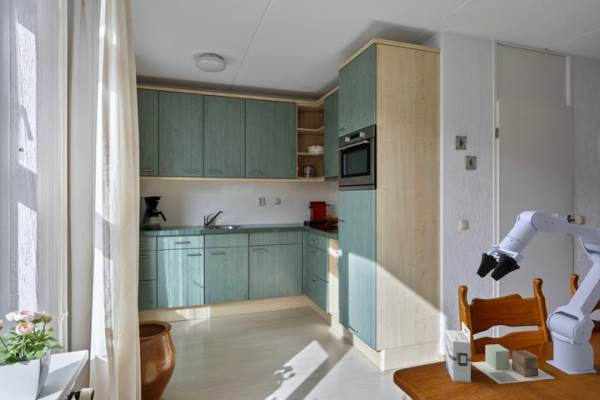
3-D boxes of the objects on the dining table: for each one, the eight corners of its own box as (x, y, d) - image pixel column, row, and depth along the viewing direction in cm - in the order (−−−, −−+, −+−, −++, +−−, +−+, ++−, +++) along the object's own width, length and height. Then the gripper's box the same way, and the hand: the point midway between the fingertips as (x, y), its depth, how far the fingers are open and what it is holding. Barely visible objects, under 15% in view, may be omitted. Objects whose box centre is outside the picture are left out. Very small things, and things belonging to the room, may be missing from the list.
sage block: (498, 361, 104) (498, 344, 104) (509, 368, 99) (509, 350, 99) (485, 362, 103) (485, 345, 103) (496, 369, 99) (496, 351, 99)
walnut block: (525, 368, 100) (525, 350, 100) (538, 375, 95) (538, 357, 95) (512, 369, 99) (512, 351, 99) (524, 377, 95) (524, 358, 95)
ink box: (445, 367, 101) (445, 319, 101) (462, 368, 100) (462, 320, 100) (452, 382, 93) (452, 330, 93) (471, 384, 92) (471, 331, 92)
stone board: (520, 359, 106) (520, 358, 106) (555, 379, 94) (555, 378, 94) (470, 364, 103) (470, 362, 103) (498, 385, 91) (498, 383, 91)
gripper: (490, 234, 106) (463, 265, 105) (519, 233, 92) (489, 270, 91) (507, 249, 105) (481, 281, 104) (540, 250, 91) (509, 287, 90)
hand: (486, 277), depth 97 cm, fingers open, 7 cm apart
